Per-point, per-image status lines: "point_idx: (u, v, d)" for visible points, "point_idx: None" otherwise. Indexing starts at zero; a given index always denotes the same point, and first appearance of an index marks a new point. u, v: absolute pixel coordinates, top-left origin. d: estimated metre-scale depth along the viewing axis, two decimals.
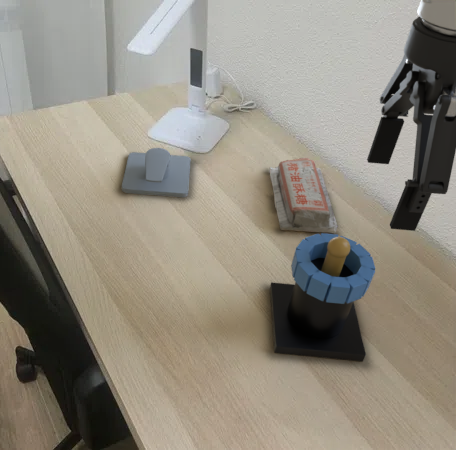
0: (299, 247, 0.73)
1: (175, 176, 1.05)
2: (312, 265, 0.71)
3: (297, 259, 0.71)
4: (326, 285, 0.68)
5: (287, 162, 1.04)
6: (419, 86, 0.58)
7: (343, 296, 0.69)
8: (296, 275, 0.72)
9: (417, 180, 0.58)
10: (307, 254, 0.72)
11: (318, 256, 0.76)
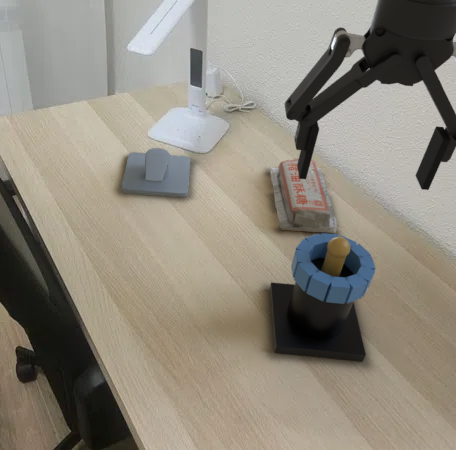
0: (299, 247, 0.73)
1: (175, 176, 1.05)
2: (312, 265, 0.71)
3: (297, 259, 0.71)
4: (326, 285, 0.68)
5: (287, 162, 1.04)
6: None
7: (343, 296, 0.69)
8: (296, 275, 0.72)
9: None
10: (307, 254, 0.72)
11: (318, 256, 0.76)
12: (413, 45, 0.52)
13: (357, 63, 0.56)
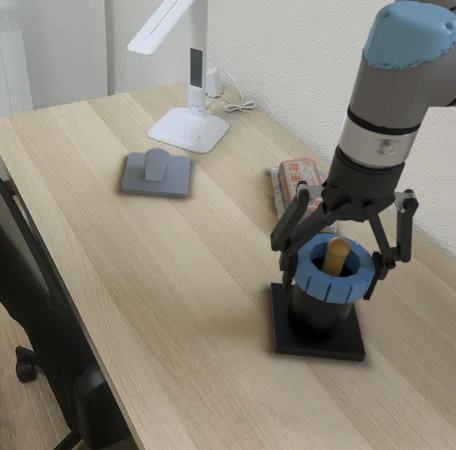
0: None
1: (175, 176, 1.05)
2: (312, 265, 0.71)
3: None
4: (326, 285, 0.68)
5: (288, 162, 1.04)
6: (374, 206, 0.63)
7: (343, 296, 0.69)
8: (296, 275, 0.72)
9: (394, 259, 0.69)
10: (307, 254, 0.72)
11: (318, 256, 0.76)
12: None
13: (321, 204, 0.68)
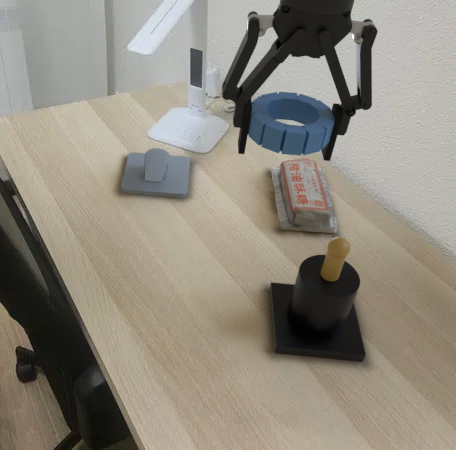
0: (254, 102, 0.68)
1: (174, 176, 1.05)
2: (267, 116, 0.65)
3: None
4: (281, 132, 0.63)
5: (289, 162, 1.04)
6: (329, 33, 0.58)
7: (299, 145, 0.64)
8: (250, 129, 0.67)
9: (354, 106, 0.64)
10: (262, 107, 0.67)
11: (276, 117, 0.70)
12: (316, 21, 0.58)
13: (274, 42, 0.63)
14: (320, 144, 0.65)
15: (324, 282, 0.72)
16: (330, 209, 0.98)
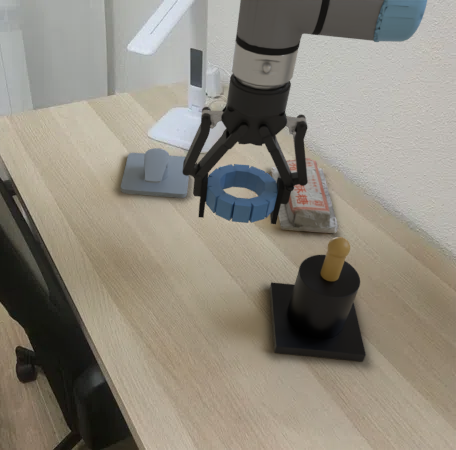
0: (211, 174, 0.80)
1: (174, 177, 1.05)
2: (220, 188, 0.78)
3: (208, 184, 0.78)
4: (230, 204, 0.75)
5: (289, 162, 1.04)
6: (267, 128, 0.71)
7: (246, 215, 0.76)
8: (207, 199, 0.79)
9: (293, 183, 0.76)
10: (217, 180, 0.79)
11: (231, 185, 0.83)
12: (256, 118, 0.71)
13: (225, 130, 0.75)
14: (264, 213, 0.77)
15: (324, 282, 0.72)
16: (330, 209, 0.98)
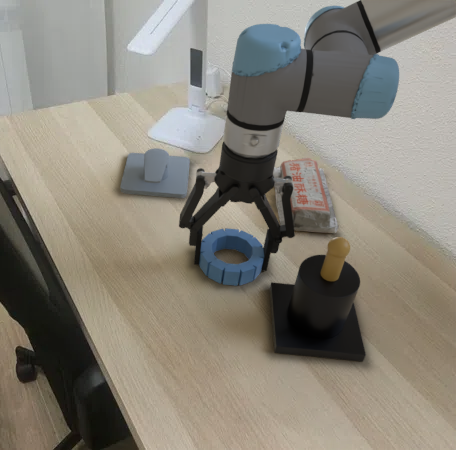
0: (204, 239, 0.89)
1: (174, 177, 1.05)
2: (212, 254, 0.86)
3: (201, 249, 0.87)
4: (221, 270, 0.84)
5: (289, 162, 1.04)
6: (256, 189, 0.77)
7: (235, 279, 0.84)
8: (200, 262, 0.87)
9: (281, 235, 0.83)
10: (210, 245, 0.88)
11: (223, 247, 0.91)
12: None
13: (218, 188, 0.81)
14: (252, 277, 0.85)
15: (324, 282, 0.72)
16: (330, 209, 0.98)
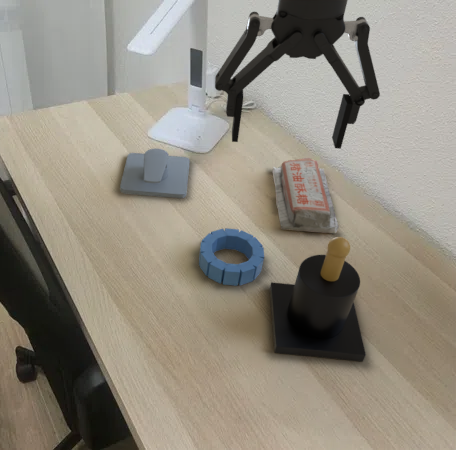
0: (204, 239, 0.89)
1: (174, 177, 1.05)
2: (212, 254, 0.86)
3: (201, 249, 0.87)
4: (221, 270, 0.84)
5: (290, 162, 1.04)
6: (323, 35, 0.63)
7: (235, 279, 0.84)
8: (200, 262, 0.87)
9: (362, 95, 0.68)
10: (210, 245, 0.88)
11: (223, 247, 0.91)
12: (311, 24, 0.63)
13: (271, 41, 0.67)
14: (252, 277, 0.85)
15: (324, 282, 0.72)
16: (331, 209, 0.98)
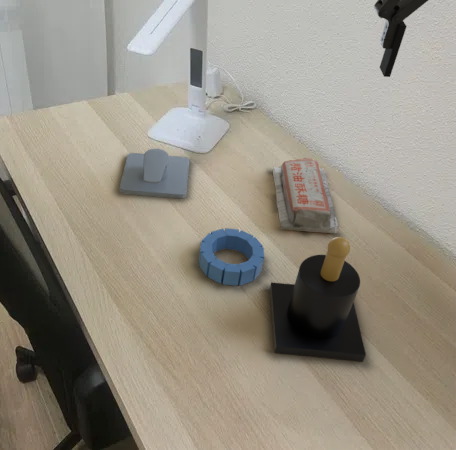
0: (204, 239, 0.89)
1: (173, 177, 1.05)
2: (212, 254, 0.86)
3: (201, 249, 0.87)
4: (221, 270, 0.84)
5: (290, 162, 1.04)
6: None
7: (235, 279, 0.84)
8: (200, 262, 0.87)
9: None
10: (210, 245, 0.88)
11: (223, 247, 0.91)
12: None
13: None
14: (252, 277, 0.85)
15: (324, 282, 0.72)
16: (331, 209, 0.98)
